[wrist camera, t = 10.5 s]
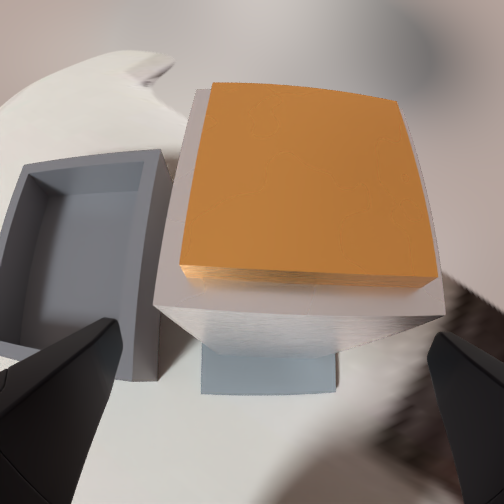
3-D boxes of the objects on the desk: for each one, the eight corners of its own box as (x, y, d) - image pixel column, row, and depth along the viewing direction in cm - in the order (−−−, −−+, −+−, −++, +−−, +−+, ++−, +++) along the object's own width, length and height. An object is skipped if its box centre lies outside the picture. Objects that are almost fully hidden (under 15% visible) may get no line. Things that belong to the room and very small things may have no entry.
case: (157, 381, 16) (132, 381, 12) (19, 358, 16) (-21, 349, 12) (174, 187, 20) (160, 149, 17) (50, 195, 20) (23, 165, 17)
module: (314, 358, 16) (464, 307, 4) (218, 354, 16) (140, 295, 4) (315, 268, 18) (410, 92, 6) (225, 263, 18) (193, 70, 6)
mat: (333, 391, 16) (335, 392, 15) (202, 393, 16) (200, 394, 15) (325, 238, 19) (327, 234, 19) (208, 236, 19) (207, 233, 19)
